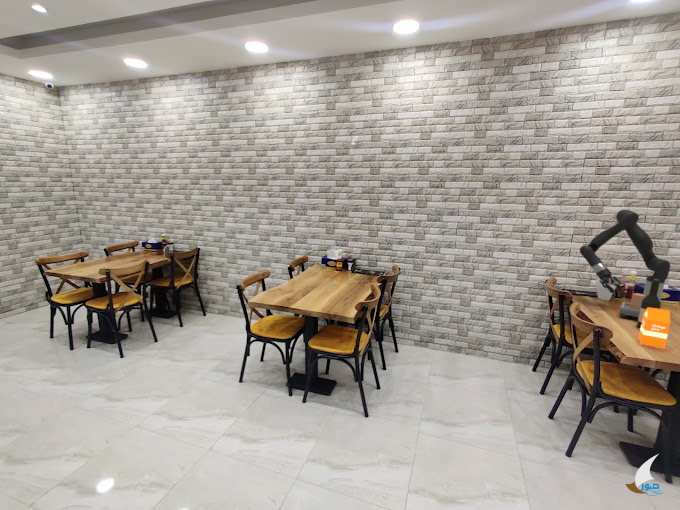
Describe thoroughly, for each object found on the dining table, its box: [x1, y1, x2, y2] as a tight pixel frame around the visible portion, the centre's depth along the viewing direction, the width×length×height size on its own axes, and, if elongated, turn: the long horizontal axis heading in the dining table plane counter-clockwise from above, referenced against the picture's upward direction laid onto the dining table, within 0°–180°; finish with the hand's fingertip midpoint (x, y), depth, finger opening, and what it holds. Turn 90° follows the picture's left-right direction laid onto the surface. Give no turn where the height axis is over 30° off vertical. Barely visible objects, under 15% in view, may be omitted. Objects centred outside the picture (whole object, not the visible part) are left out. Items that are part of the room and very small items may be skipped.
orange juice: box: [638, 307, 671, 349], centre depth 169 cm, size 8×9×20 cm
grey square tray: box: [619, 301, 640, 319], centre depth 206 cm, size 14×14×7 cm
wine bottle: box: [636, 279, 662, 329], centre depth 188 cm, size 8×8×30 cm
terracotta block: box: [629, 292, 646, 311], centre depth 204 cm, size 5×5×10 cm
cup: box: [595, 278, 617, 301], centre depth 240 cm, size 12×12×14 cm
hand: (617, 291), depth 215 cm, fingers open, 8 cm apart
